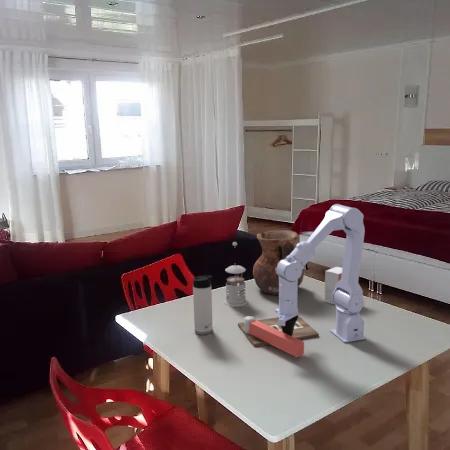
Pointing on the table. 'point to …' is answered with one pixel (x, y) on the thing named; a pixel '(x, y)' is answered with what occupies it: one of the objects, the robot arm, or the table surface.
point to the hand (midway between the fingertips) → (288, 338)
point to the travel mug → (202, 304)
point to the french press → (235, 286)
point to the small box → (331, 282)
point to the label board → (299, 332)
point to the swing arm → (274, 336)
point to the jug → (273, 258)
